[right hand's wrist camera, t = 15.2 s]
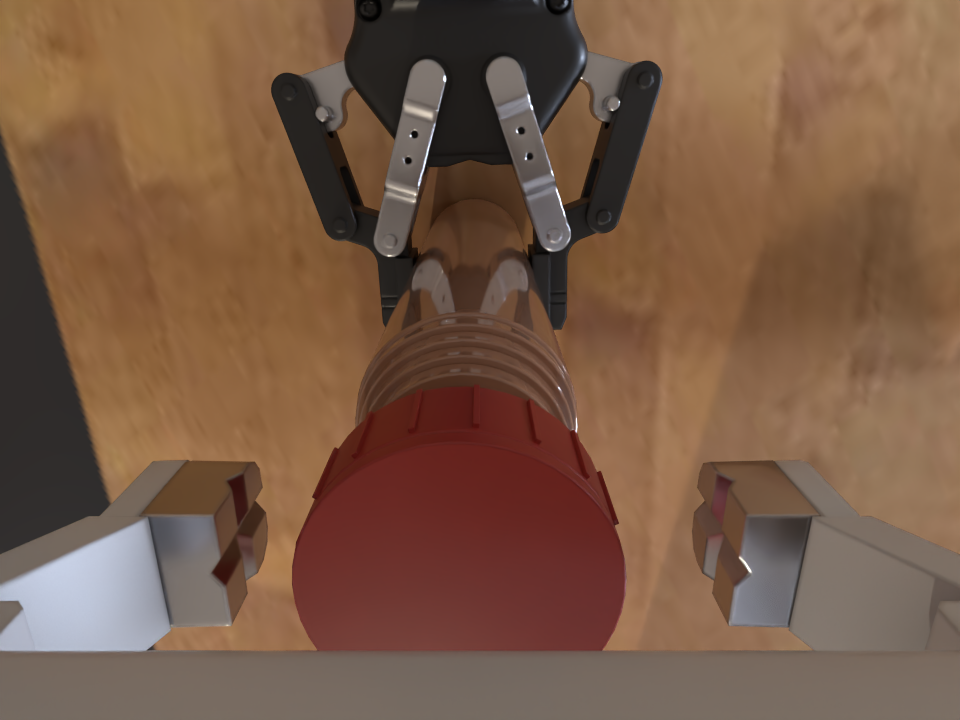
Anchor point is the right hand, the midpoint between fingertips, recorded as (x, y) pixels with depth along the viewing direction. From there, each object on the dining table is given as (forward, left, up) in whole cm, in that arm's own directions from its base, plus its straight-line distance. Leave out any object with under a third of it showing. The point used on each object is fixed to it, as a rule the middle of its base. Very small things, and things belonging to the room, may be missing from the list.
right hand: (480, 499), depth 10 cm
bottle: (0, 0, -23) cm, 23 cm away
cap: (0, 0, +2) cm, 2 cm away
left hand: (-1, +3, -16) cm, 17 cm away
